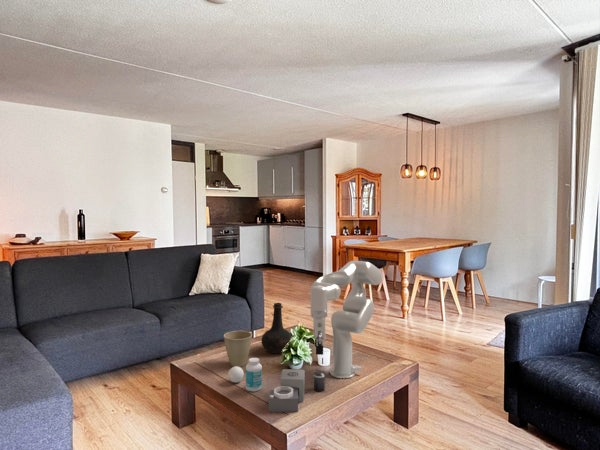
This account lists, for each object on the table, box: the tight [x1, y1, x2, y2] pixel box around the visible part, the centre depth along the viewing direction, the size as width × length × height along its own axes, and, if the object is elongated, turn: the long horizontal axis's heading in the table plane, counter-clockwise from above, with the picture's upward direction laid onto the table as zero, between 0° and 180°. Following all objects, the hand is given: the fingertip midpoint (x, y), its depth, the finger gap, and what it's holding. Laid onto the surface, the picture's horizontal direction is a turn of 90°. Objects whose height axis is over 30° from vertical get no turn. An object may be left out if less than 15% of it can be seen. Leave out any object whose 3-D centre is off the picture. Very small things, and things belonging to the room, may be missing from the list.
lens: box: [313, 369, 326, 393], centre depth 177 cm, size 5×5×8 cm
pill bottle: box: [245, 357, 263, 392], centre depth 178 cm, size 8×7×14 cm
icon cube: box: [279, 368, 306, 403], centre depth 171 cm, size 10×10×10 cm
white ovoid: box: [227, 366, 245, 383], centre depth 186 cm, size 10×7×7 cm
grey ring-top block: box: [268, 385, 299, 413], centre depth 162 cm, size 12×8×7 cm, turn 91°
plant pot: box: [223, 330, 253, 368], centre depth 206 cm, size 15×15×16 cm
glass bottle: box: [260, 302, 292, 354], centre depth 225 cm, size 18×18×28 cm
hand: (318, 350), depth 176 cm, fingers open, 9 cm apart
